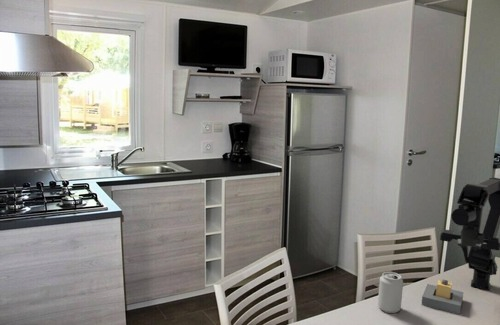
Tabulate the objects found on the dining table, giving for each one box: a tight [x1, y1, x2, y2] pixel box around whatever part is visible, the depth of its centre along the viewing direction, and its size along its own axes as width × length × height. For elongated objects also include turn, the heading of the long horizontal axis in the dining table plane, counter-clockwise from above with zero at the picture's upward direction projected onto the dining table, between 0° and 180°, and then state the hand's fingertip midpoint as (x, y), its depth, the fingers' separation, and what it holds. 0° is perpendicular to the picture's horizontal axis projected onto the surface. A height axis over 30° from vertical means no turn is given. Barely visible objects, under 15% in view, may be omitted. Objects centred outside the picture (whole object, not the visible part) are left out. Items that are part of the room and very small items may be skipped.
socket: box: [421, 283, 464, 315], centre depth 155 cm, size 12×12×3 cm
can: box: [377, 271, 404, 314], centre depth 148 cm, size 8×8×12 cm
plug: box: [436, 279, 453, 299], centre depth 154 cm, size 4×4×8 cm
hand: (467, 262), depth 158 cm, fingers closed
